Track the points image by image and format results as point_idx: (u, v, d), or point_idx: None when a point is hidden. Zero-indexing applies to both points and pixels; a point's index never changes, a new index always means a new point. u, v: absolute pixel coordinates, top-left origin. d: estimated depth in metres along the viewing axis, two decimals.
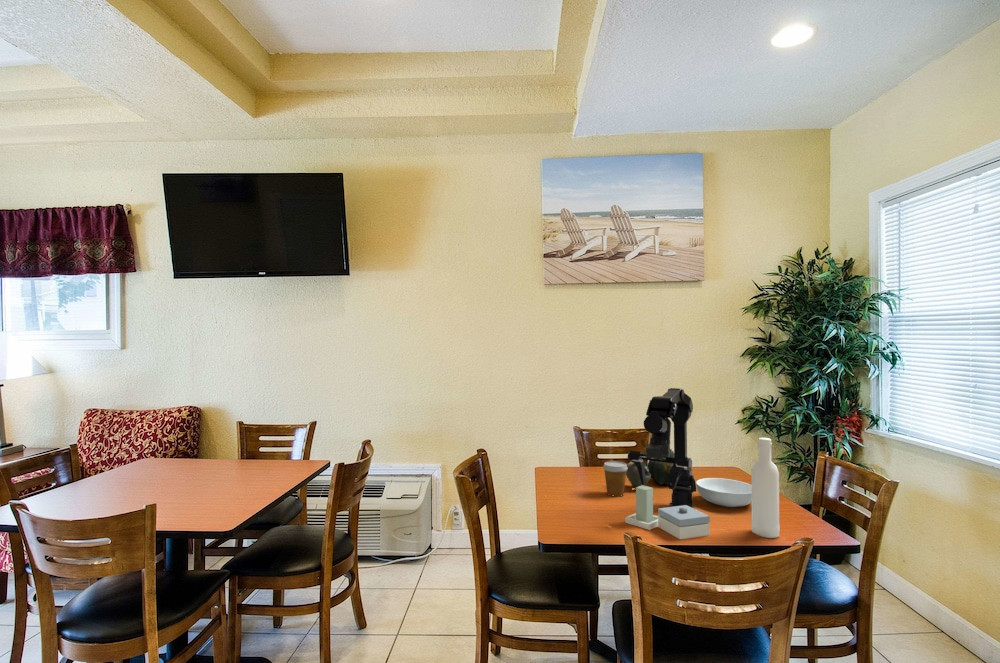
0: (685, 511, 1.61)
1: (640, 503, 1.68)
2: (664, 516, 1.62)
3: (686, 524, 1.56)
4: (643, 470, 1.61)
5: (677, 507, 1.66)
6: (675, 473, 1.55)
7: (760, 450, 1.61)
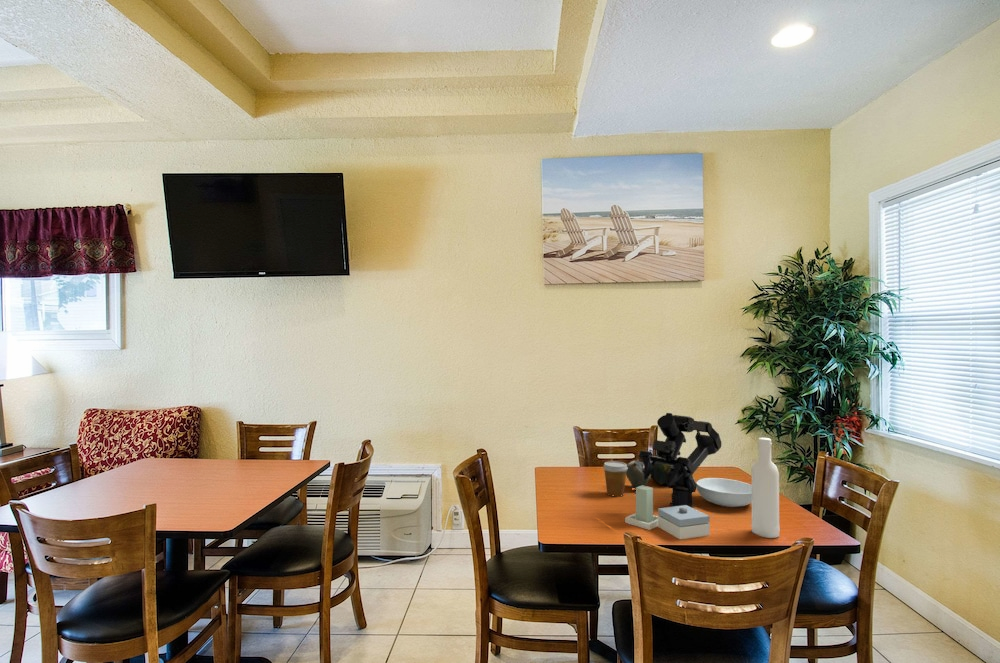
0: (685, 511, 1.61)
1: (640, 503, 1.68)
2: (664, 516, 1.62)
3: (686, 524, 1.56)
4: (649, 469, 1.80)
5: (677, 507, 1.66)
6: (675, 470, 1.72)
7: (760, 450, 1.61)
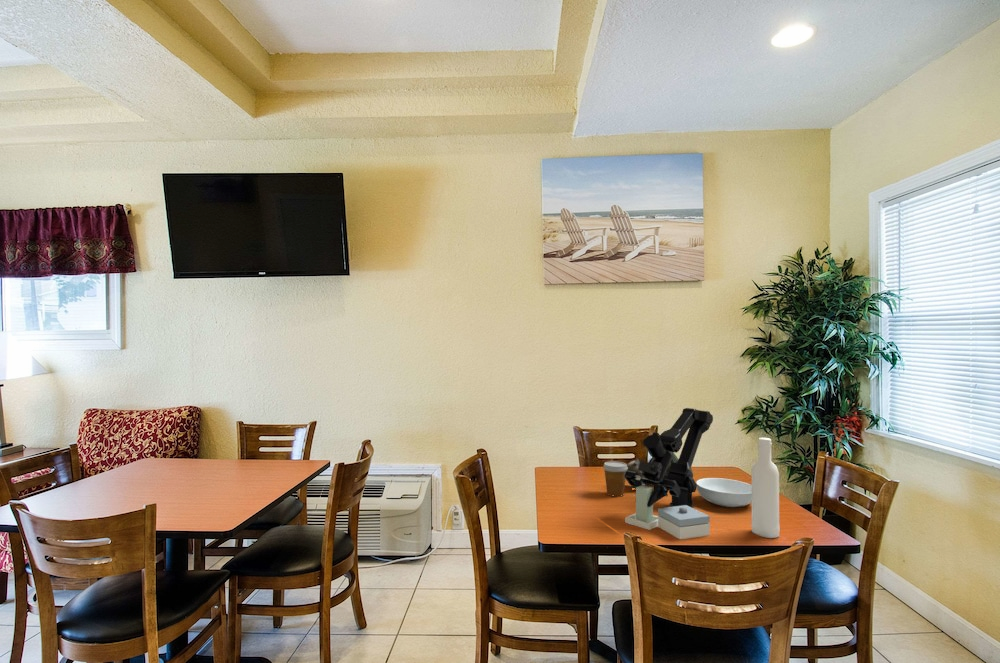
0: (685, 511, 1.61)
1: (640, 503, 1.68)
2: (664, 516, 1.62)
3: (686, 524, 1.56)
4: None
5: (677, 507, 1.66)
6: (654, 491, 1.68)
7: (760, 450, 1.61)
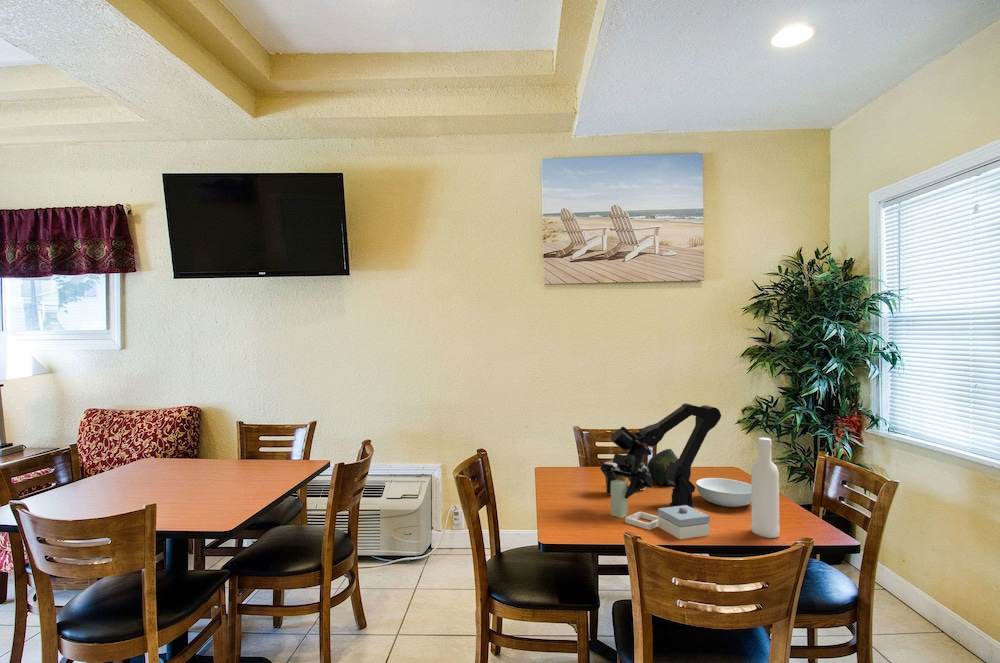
0: (685, 511, 1.61)
1: (615, 496, 1.75)
2: (664, 516, 1.62)
3: (686, 524, 1.56)
4: None
5: (677, 507, 1.66)
6: (631, 483, 1.74)
7: (760, 450, 1.61)
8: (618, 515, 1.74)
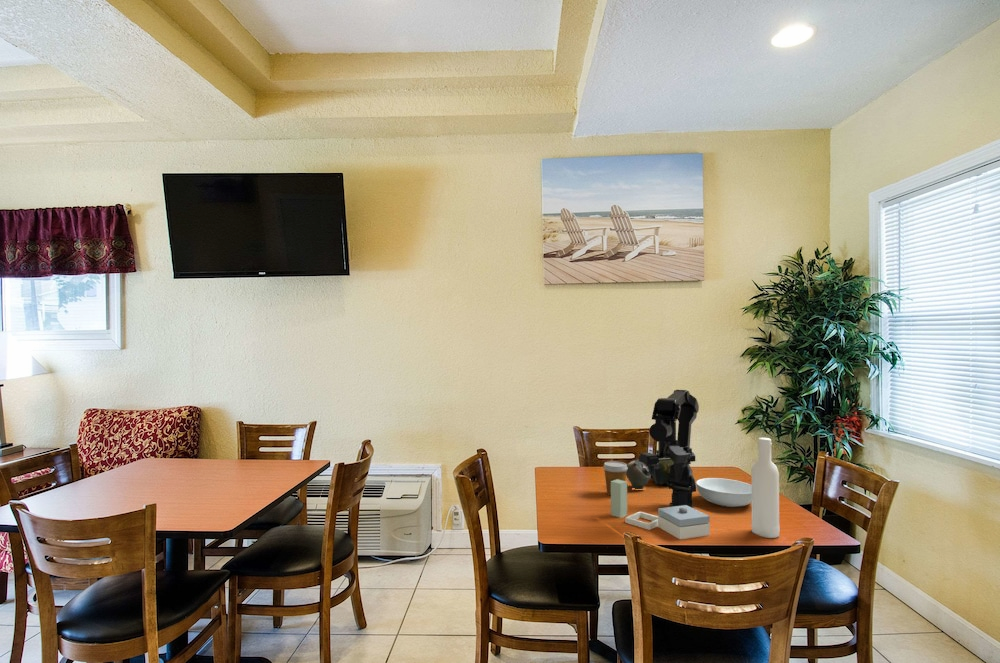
0: (685, 511, 1.61)
1: (615, 496, 1.75)
2: (664, 516, 1.62)
3: (686, 524, 1.56)
4: None
5: (677, 507, 1.66)
6: (682, 468, 1.71)
7: (760, 450, 1.61)
8: (618, 515, 1.74)
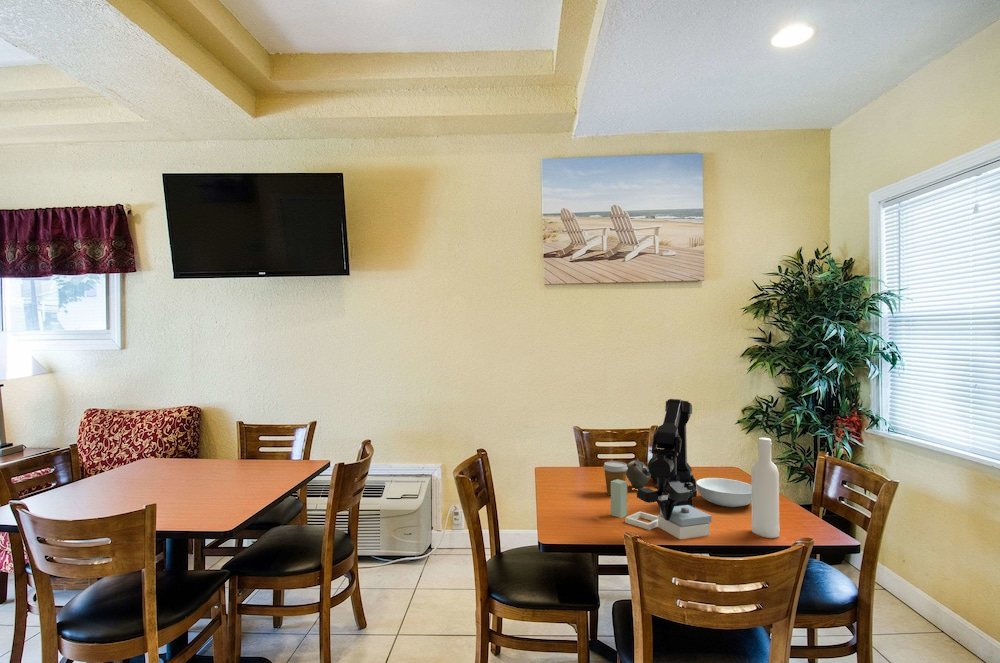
0: (687, 511, 1.61)
1: (615, 496, 1.75)
2: None
3: (688, 524, 1.56)
4: None
5: (679, 507, 1.67)
6: (672, 505, 1.59)
7: (760, 450, 1.61)
8: (618, 515, 1.74)
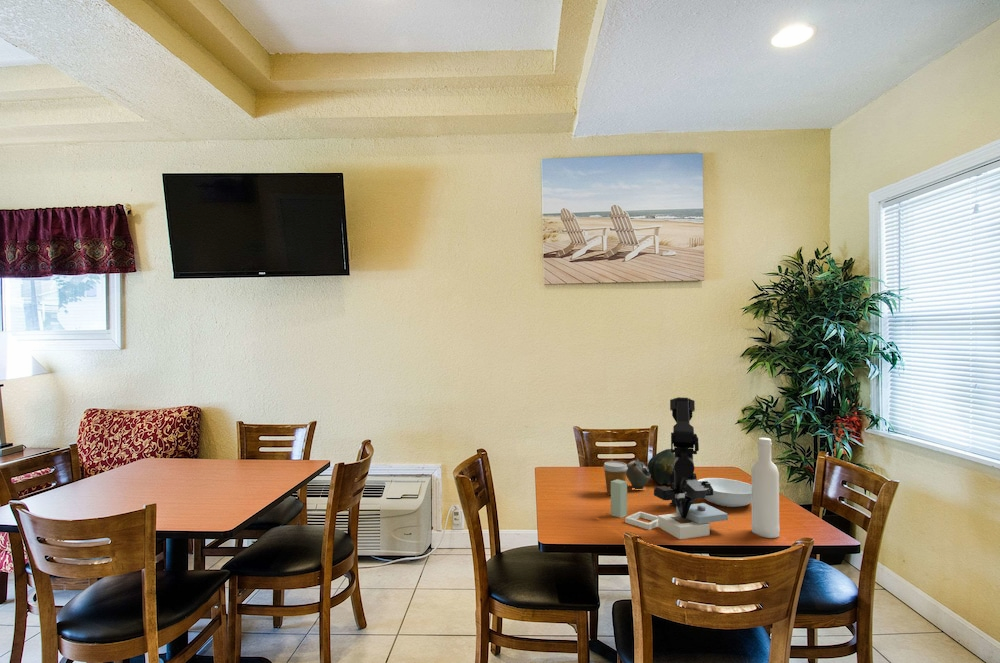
0: (703, 509, 1.63)
1: (615, 496, 1.75)
2: None
3: (705, 521, 1.58)
4: None
5: (695, 505, 1.69)
6: (689, 503, 1.61)
7: (760, 450, 1.61)
8: (618, 515, 1.74)
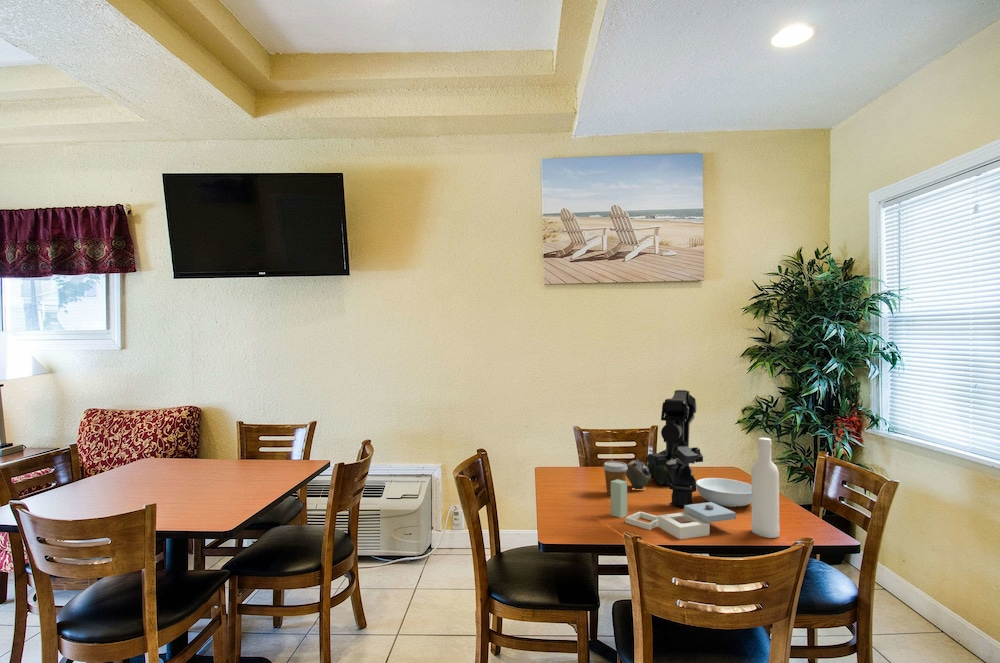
0: (711, 508, 1.64)
1: (615, 496, 1.75)
2: (691, 513, 1.65)
3: (713, 520, 1.59)
4: None
5: (703, 504, 1.69)
6: (680, 469, 1.69)
7: (760, 450, 1.61)
8: (618, 515, 1.74)
